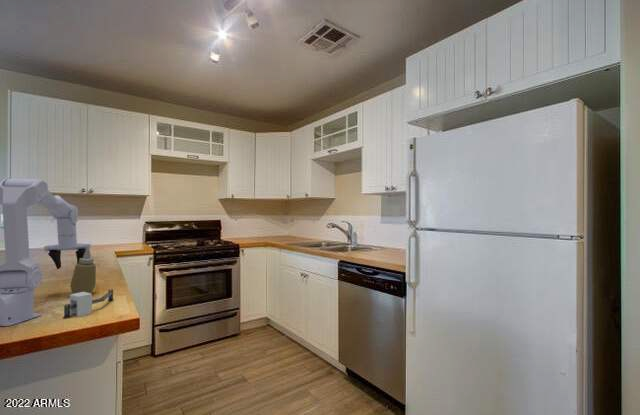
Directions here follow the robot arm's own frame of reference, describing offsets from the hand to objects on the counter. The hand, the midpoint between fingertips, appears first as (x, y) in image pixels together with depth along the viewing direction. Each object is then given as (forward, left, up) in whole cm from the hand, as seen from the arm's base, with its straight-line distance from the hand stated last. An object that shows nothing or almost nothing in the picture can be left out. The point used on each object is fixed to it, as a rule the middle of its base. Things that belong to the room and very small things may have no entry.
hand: (69, 267), depth 123 cm
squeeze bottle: (0, -6, -11) cm, 12 cm away
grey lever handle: (-13, -26, -11) cm, 31 cm away
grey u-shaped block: (-19, -26, -11) cm, 34 cm away
